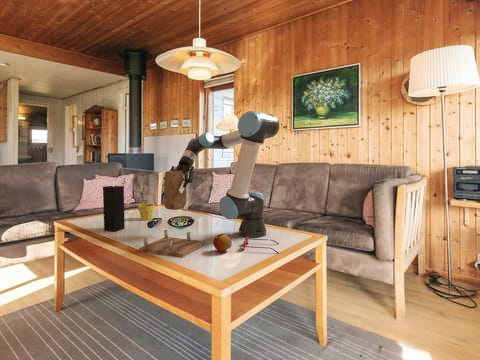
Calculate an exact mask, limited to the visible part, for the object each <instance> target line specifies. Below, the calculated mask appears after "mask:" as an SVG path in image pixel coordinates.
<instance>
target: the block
mask: <svg viewBox="0 0 480 360" xmlns="http://www.w3.org/2000/svg"><path fill="white" fill-rule="evenodd" d="M164 177H165V181H164V180H163V181H164V182H163V187H164V192H163V201H164V208H165V209H166V210H170V211H175V210H176V211H177V210H181V209H184V208H185V206H186V204H187V187H186V188H184V190H183V192H182V194H181V193H180V192H179V188H180V186H181V184H182V182H183V181H185V180H184V179H185V177H184V174H183V172H182V171H170V170H167V171H165V173H164Z"/></svg>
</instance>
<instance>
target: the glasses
mask: <svg viewBox="0 0 480 360" xmlns="http://www.w3.org/2000/svg"><path fill="white" fill-rule="evenodd" d="M247 236H248V235H247ZM247 236H246V237H245V238H244V240H243V245H242V246H241V247H242V248H243V251H245V249H246V248H257V249H268V247H265V246H263V247H262V246H248V244H249V240H251V237H247ZM252 240H254V241H255V240H257V241H258V240H259V241H268V239H264V238H252ZM271 241H272V242H274V243H276V244H277V245H278V244H280V243H279V242H277V241H276V240H274V239H271ZM269 249H271V250H273V252H275V253H276V252H277V254H279V252H278V251H277V250H275V249H274V248H272V247H269Z"/></svg>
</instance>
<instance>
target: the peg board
mask: <svg viewBox="0 0 480 360" xmlns="http://www.w3.org/2000/svg"><path fill="white" fill-rule="evenodd" d="M168 231H169V230H168V229H164V235H163V236H164V237H162V238H160V239H158V240H155V241H152V242H148V241H149V240H148V239H149V238H148V237H143V246H140V247H139V252H143V253H150V254H157V255H158V254H159V255H165V256H171V257H179V258H185V257H186V256H188V255H190V254H191V253H192V252H195V251H196V250H198V249H199V248H201V247H203V246H205V245H206V241H205V240H199V239H198V240H196V239H191V231H190V232H189V231H187V232H186V238H179V237H172V236H170V237H169V232H168Z"/></svg>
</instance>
